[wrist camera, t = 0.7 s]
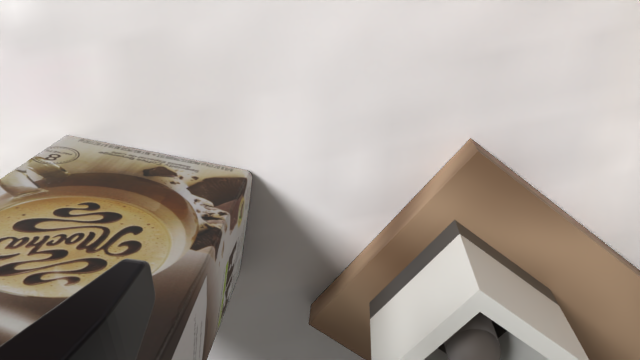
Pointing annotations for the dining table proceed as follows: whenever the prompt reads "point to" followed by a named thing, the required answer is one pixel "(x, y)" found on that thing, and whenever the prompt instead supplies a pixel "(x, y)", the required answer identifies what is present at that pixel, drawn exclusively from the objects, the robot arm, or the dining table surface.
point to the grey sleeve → (467, 304)
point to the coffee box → (123, 237)
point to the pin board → (511, 241)
